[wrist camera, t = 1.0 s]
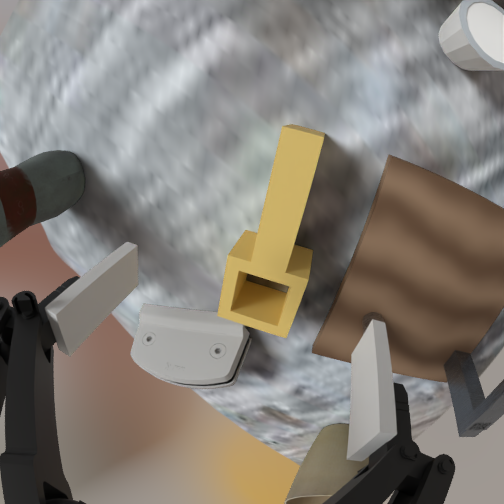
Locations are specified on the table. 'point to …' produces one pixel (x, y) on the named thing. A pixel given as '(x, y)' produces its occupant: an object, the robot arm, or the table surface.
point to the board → (421, 273)
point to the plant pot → (324, 467)
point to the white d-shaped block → (190, 346)
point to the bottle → (38, 191)
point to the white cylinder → (475, 36)
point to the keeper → (471, 396)
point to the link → (275, 242)
